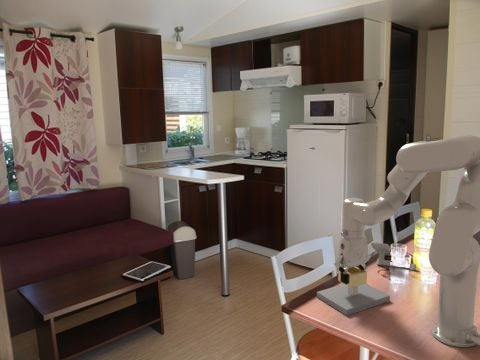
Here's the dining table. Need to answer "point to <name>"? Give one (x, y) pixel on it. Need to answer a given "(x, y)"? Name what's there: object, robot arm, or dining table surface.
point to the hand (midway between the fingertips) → (352, 280)
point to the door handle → (385, 254)
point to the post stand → (352, 297)
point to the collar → (355, 276)
